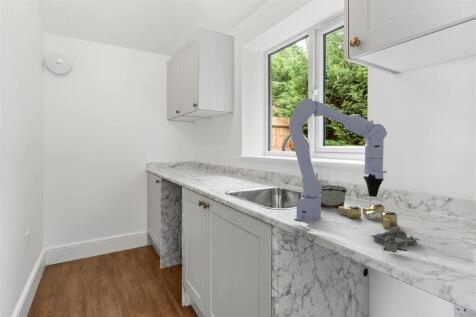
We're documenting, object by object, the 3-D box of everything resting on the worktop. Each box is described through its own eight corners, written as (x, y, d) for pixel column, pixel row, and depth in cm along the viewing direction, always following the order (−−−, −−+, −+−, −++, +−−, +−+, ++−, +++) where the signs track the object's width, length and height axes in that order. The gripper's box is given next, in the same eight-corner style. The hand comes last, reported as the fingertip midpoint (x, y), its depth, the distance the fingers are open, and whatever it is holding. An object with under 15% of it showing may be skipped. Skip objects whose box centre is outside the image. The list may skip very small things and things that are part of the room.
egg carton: (399, 240, 74) (399, 227, 74) (423, 251, 67) (423, 235, 67) (368, 243, 72) (368, 229, 72) (389, 254, 64) (389, 238, 64)
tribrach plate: (408, 239, 74) (408, 226, 74) (327, 222, 90) (327, 212, 89) (417, 220, 92) (417, 210, 92) (349, 209, 108) (349, 201, 108)
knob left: (363, 218, 91) (363, 207, 91) (355, 220, 89) (355, 209, 89) (343, 212, 99) (343, 203, 98) (336, 214, 96) (336, 204, 96)
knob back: (377, 212, 99) (377, 203, 98) (387, 215, 94) (387, 205, 94) (359, 214, 96) (360, 204, 96) (369, 217, 92) (369, 207, 92)
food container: (344, 208, 110) (345, 185, 110) (346, 212, 104) (347, 188, 104) (315, 206, 114) (315, 184, 113) (315, 209, 108) (316, 186, 107)
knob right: (383, 221, 88) (383, 210, 88) (398, 223, 85) (398, 212, 85) (377, 227, 81) (378, 215, 81) (393, 230, 79) (394, 217, 78)
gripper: (394, 159, 81) (392, 201, 82) (379, 157, 95) (378, 193, 96) (370, 159, 82) (369, 200, 83) (359, 157, 97) (358, 192, 97)
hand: (372, 196), depth 89 cm, fingers closed
